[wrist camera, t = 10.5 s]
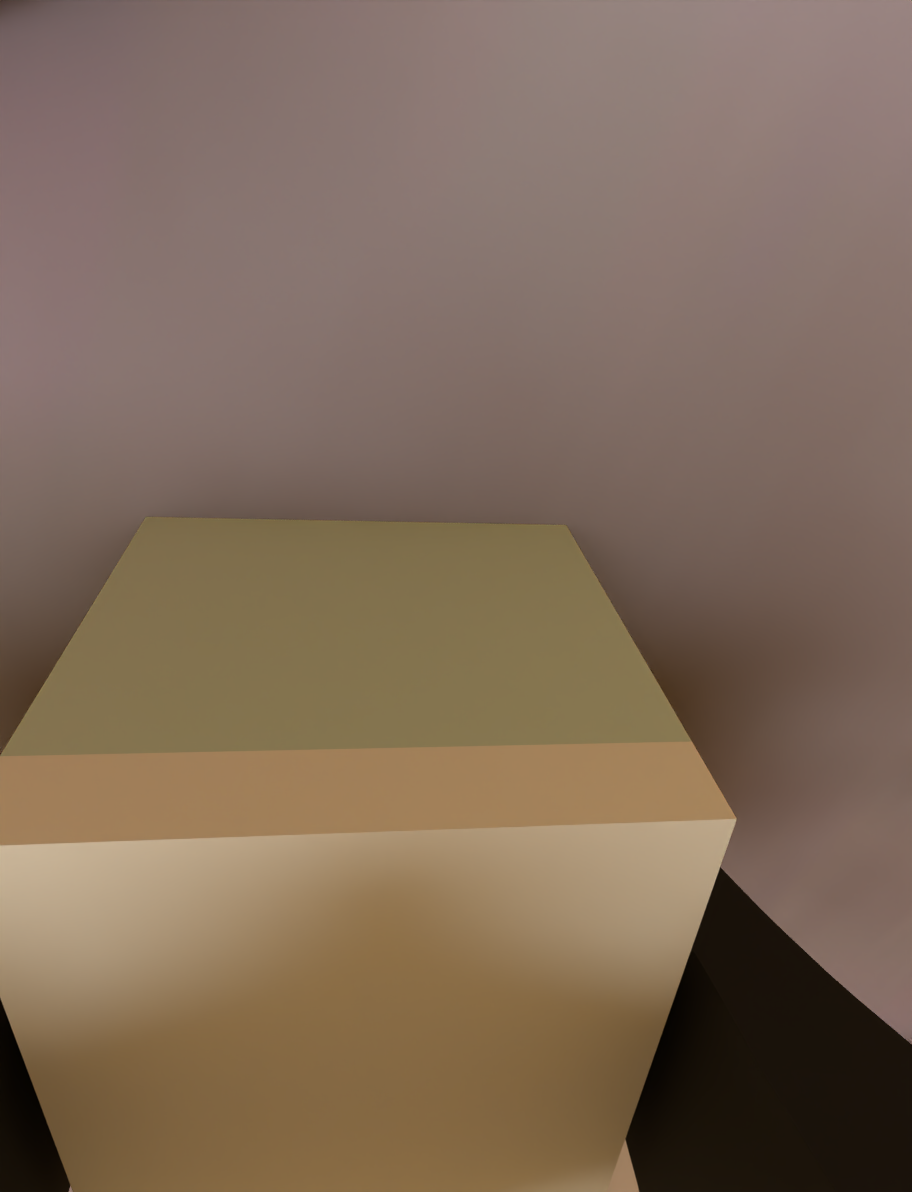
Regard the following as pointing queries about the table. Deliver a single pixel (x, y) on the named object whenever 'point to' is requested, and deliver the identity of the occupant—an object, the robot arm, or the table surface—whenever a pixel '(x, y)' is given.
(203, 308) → the table surface
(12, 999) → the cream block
